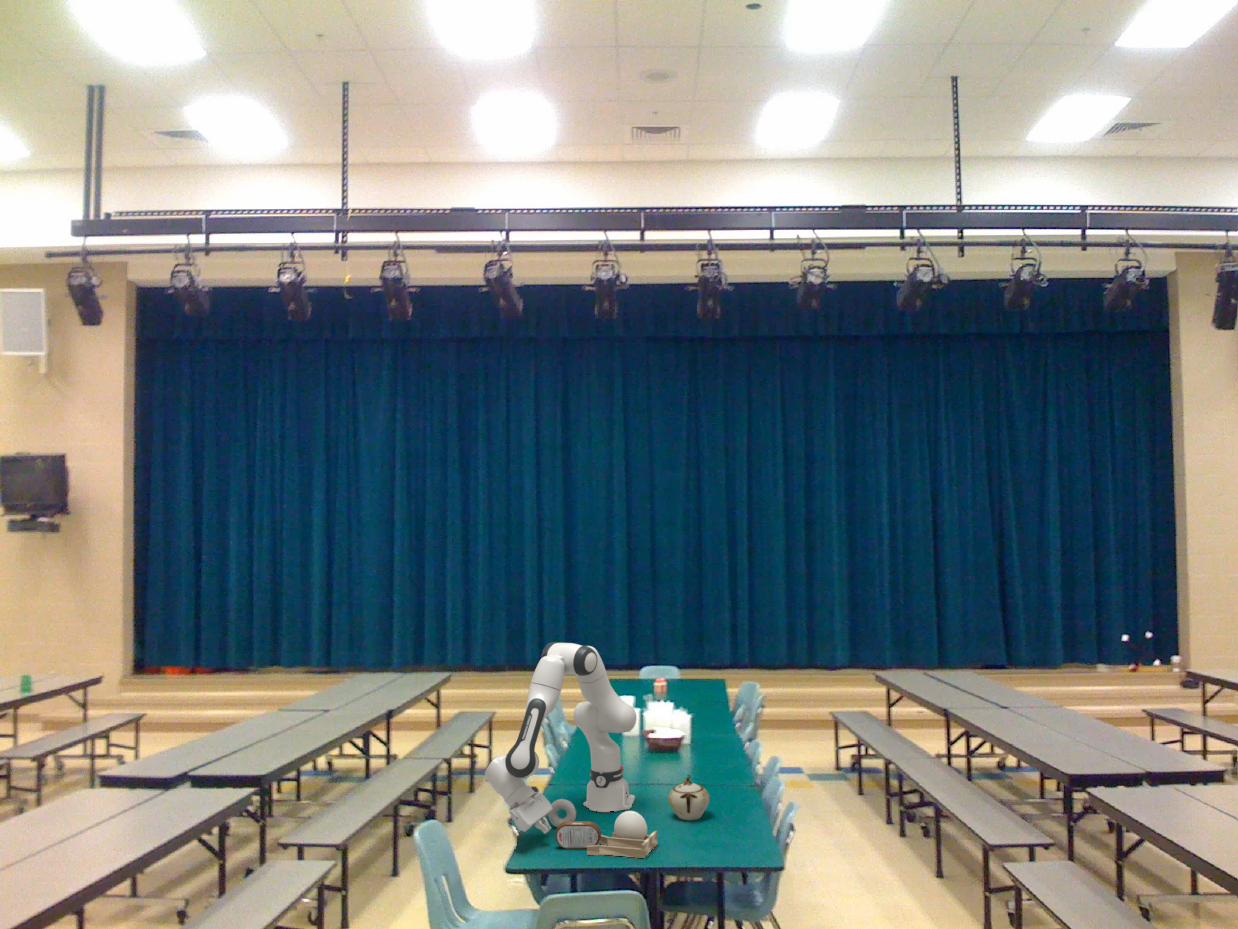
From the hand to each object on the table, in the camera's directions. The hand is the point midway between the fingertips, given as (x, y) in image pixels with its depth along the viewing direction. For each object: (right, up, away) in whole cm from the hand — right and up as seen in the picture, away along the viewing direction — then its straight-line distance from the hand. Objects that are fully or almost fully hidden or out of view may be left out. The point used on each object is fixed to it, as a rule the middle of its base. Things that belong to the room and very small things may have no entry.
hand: (548, 831), depth 317 cm
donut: (+4, -6, +17) cm, 19 cm away
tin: (+10, -4, -4) cm, 12 cm away
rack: (+25, -3, -7) cm, 26 cm away
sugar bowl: (+49, -5, +26) cm, 56 cm away
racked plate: (+28, -4, -3) cm, 28 cm away
